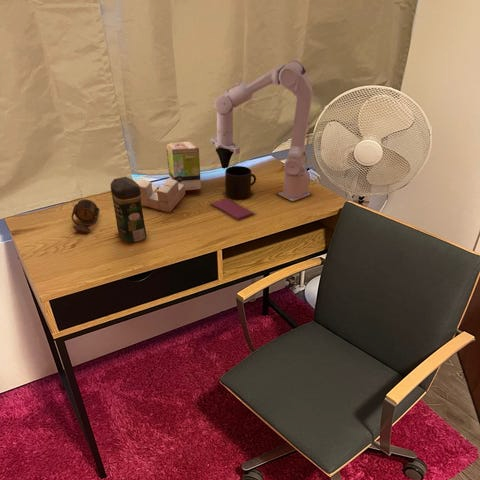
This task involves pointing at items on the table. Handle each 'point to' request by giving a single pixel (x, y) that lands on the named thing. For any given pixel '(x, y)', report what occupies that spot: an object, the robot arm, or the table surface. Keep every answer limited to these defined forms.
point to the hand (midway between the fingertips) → (225, 167)
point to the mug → (238, 182)
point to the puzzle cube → (161, 194)
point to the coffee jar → (128, 209)
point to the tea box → (184, 164)
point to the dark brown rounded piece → (85, 215)
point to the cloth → (232, 209)
